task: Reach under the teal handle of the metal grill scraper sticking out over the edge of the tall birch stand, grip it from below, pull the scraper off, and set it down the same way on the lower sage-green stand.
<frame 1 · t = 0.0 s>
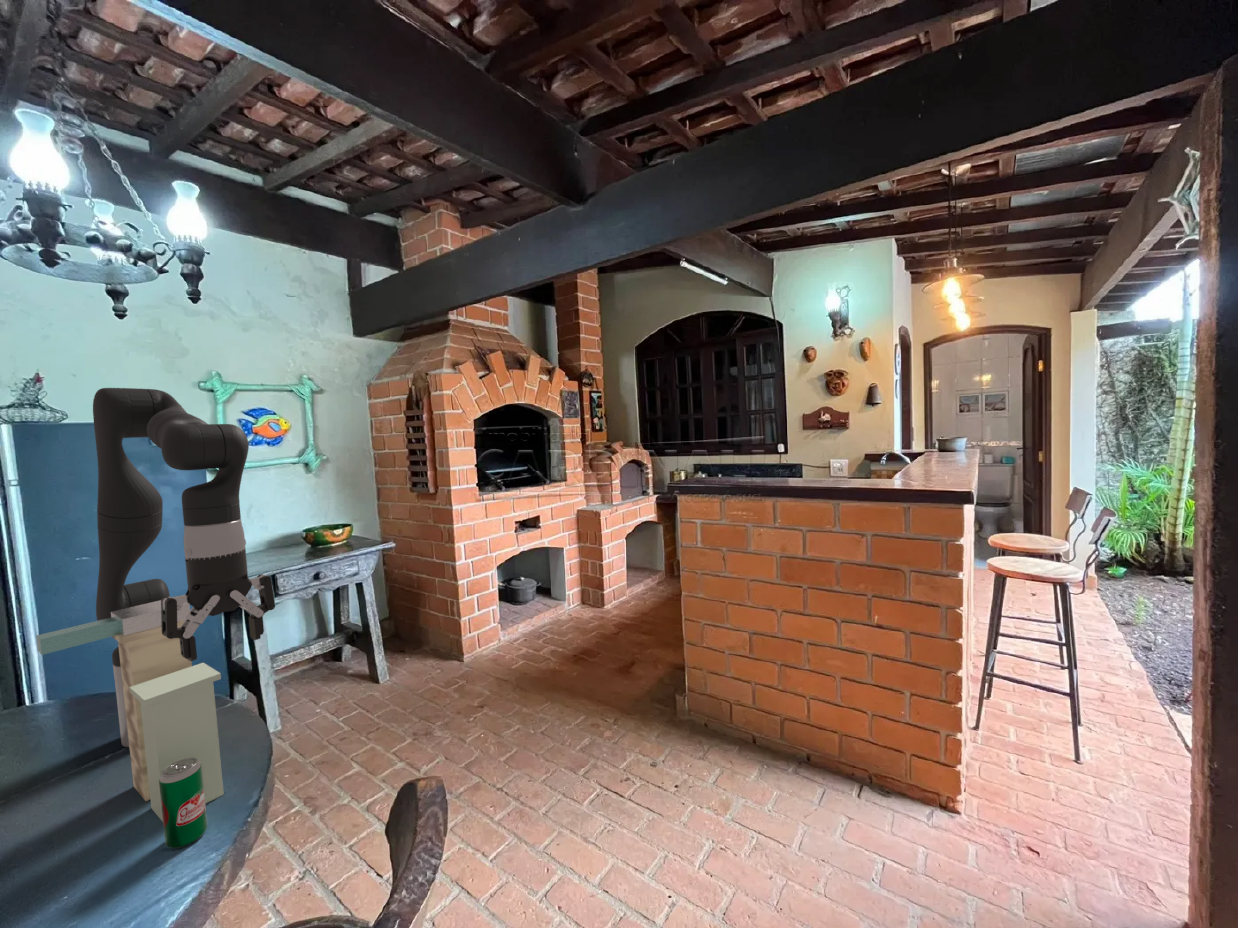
hand: (224, 648, 81), 29 cm above the table, tool pointing down, fingers open, 8 cm apart
soda can: (187, 838, 79), on the table
high stand: (168, 780, 93), on the table
low stand: (188, 800, 87), on the table
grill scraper: (152, 623, 91), point 30 cm above the table, touching high stand
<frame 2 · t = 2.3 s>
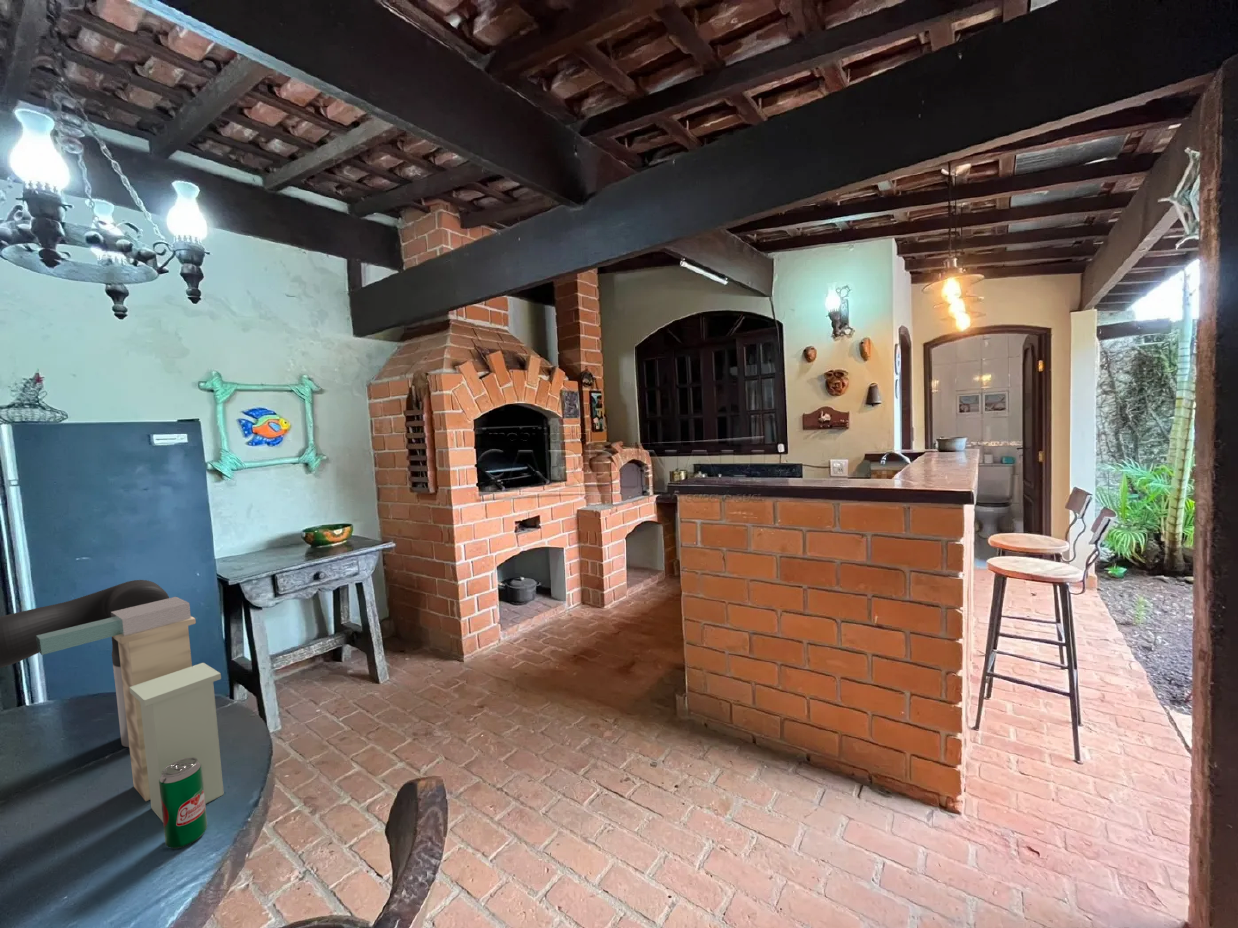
nothing on the table moved.
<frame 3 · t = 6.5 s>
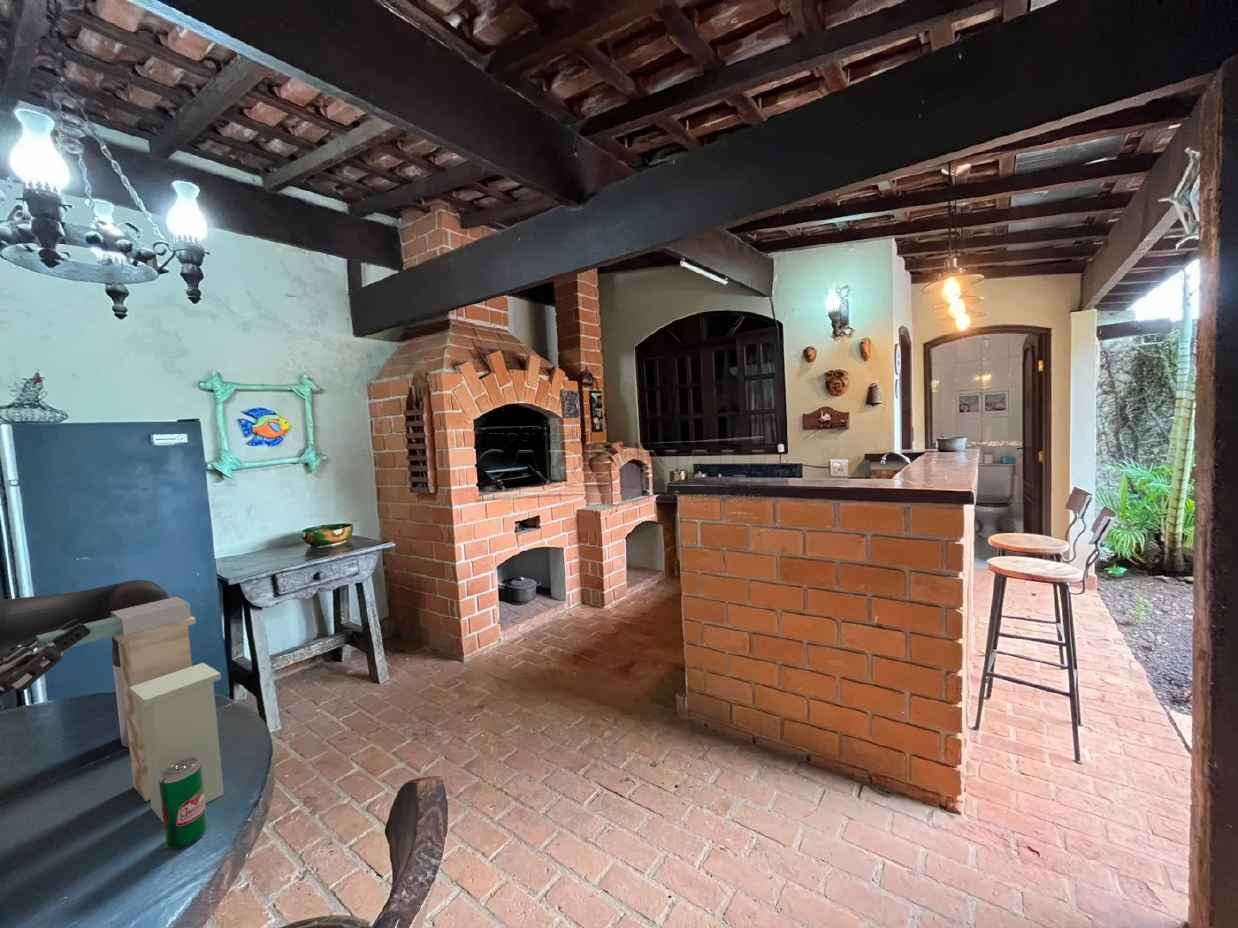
hand: (83, 625, 83), 33 cm above the table, tool pointing upward, fingers closed on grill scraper, 3 cm apart
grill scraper: (152, 623, 91), point 30 cm above the table, touching gripper, high stand
everything else where it was.
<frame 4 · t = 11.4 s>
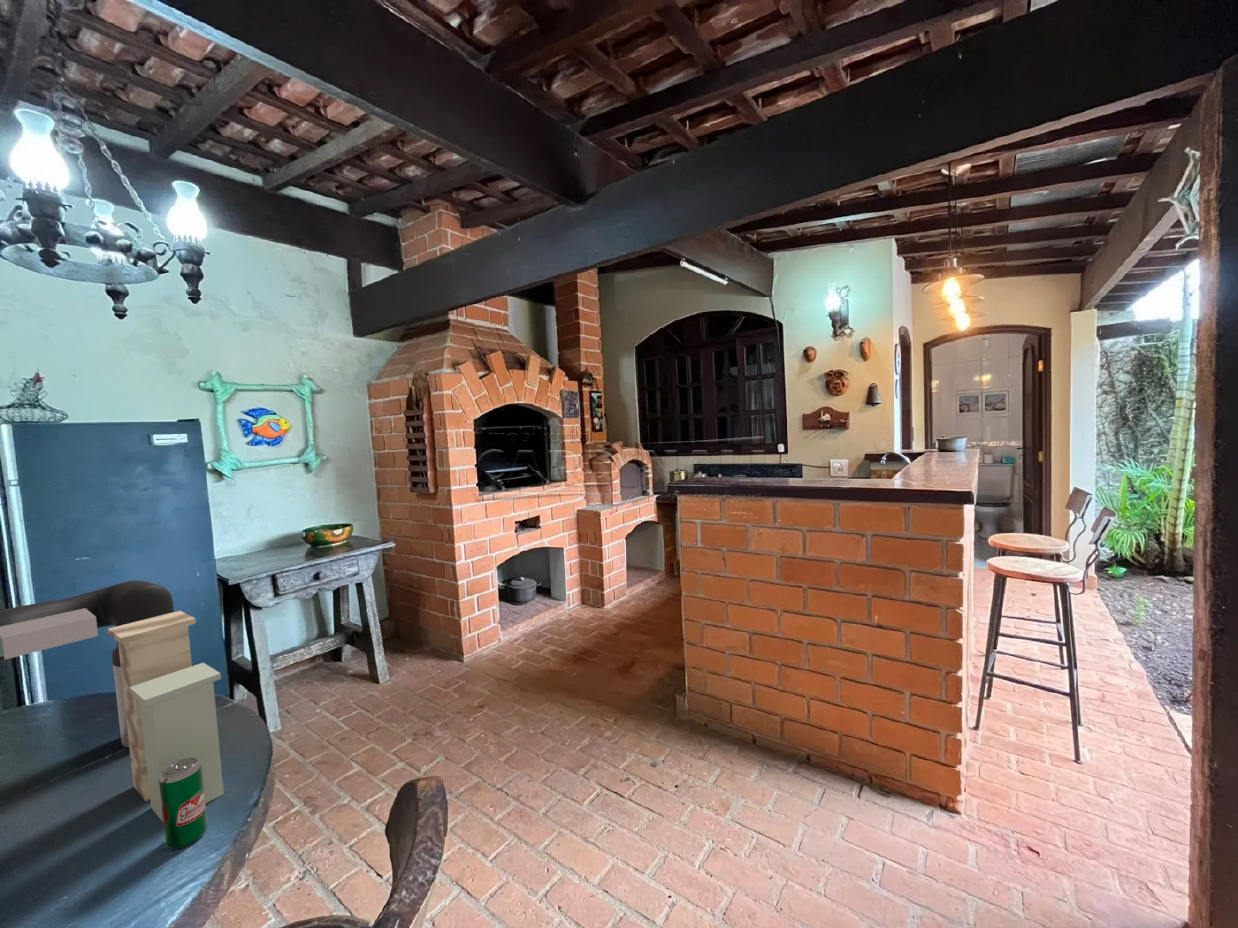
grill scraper: (49, 641, 74), point 34 cm above the table, touching gripper
everything else where it was.
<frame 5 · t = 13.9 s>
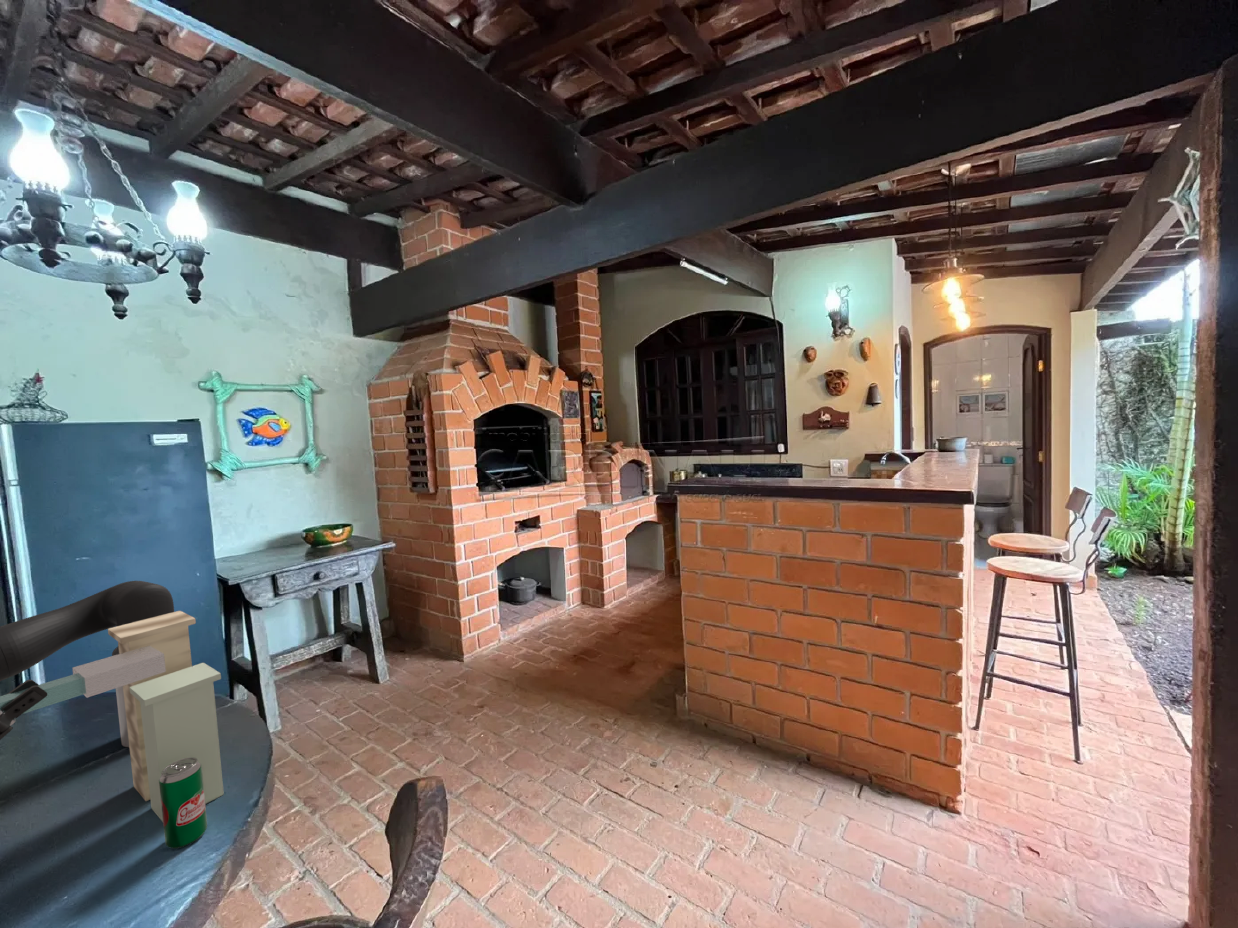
hand: (38, 686, 72), 28 cm above the table, tool pointing upward, fingers closed on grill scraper, 3 cm apart
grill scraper: (121, 678, 80), point 25 cm above the table, touching gripper
everything else where it was.
when the fingers open (26 cm above the table, at t = 16.1 s): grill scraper drops 1 cm, resting on low stand.
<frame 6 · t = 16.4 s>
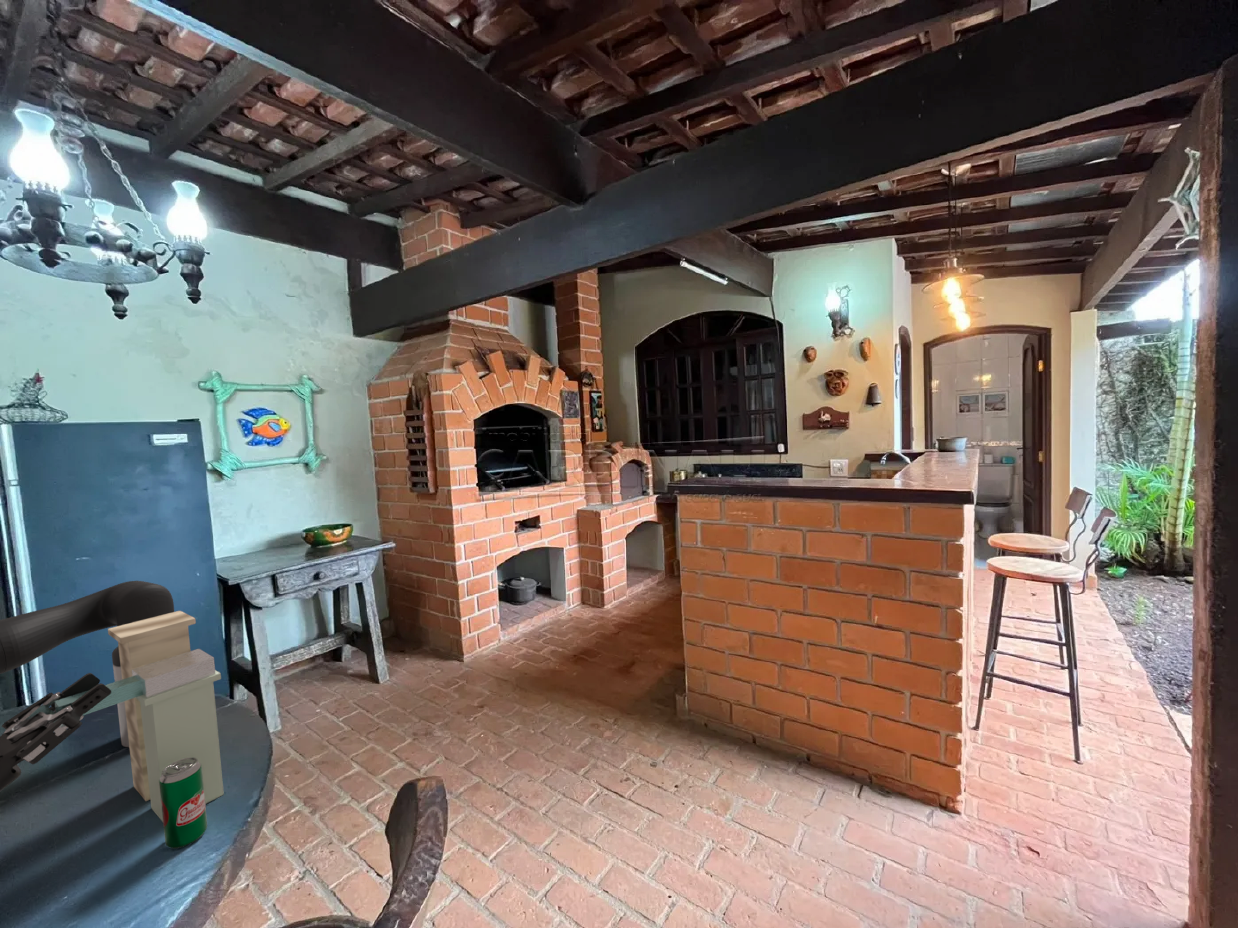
hand: (100, 681, 78), 26 cm above the table, tool pointing upward, fingers open, 6 cm apart
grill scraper: (175, 680, 86), point 22 cm above the table, touching low stand
everything else where it was.
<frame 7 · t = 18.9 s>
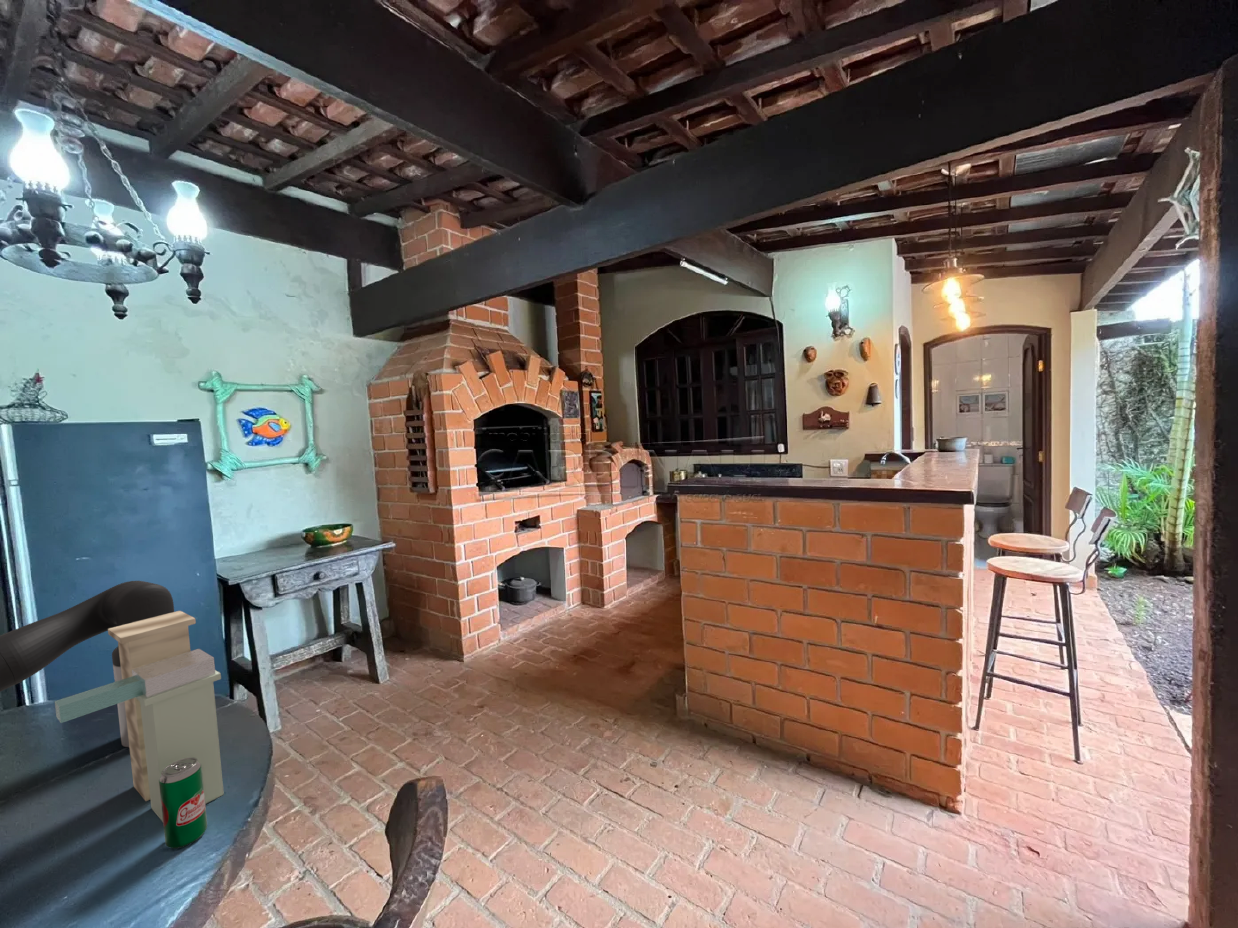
nothing on the table moved.
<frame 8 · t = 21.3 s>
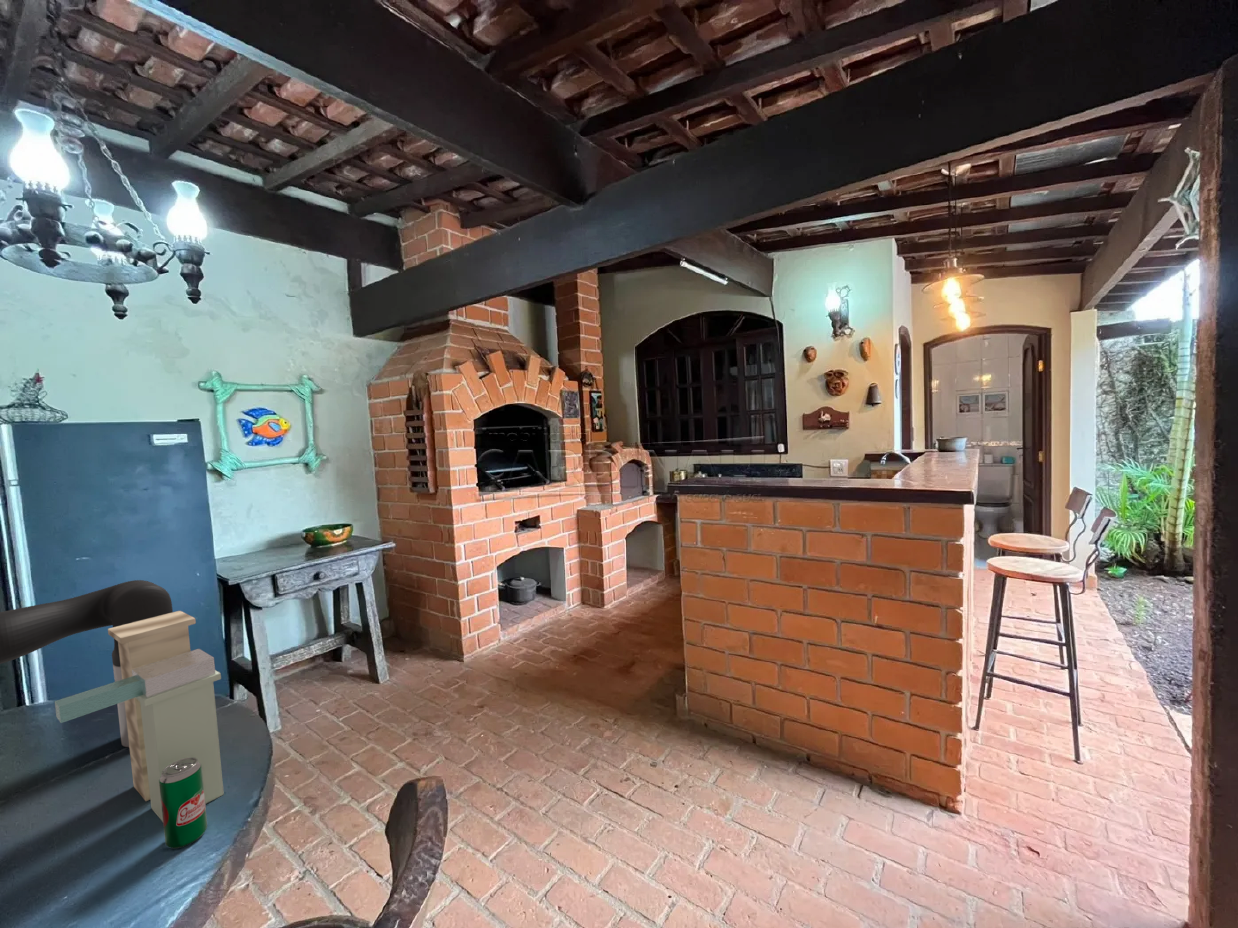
nothing on the table moved.
at the end: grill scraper 0.1 cm off-centre on the low stand, point 22.0 cm above the low stand's base; the gripper is holding nothing; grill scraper tilted 0° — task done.
